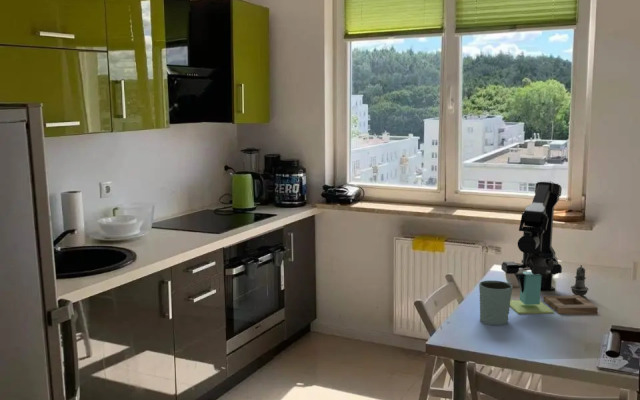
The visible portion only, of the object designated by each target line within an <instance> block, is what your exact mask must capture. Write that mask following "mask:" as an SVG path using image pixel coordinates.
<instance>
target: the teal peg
mask: <svg viewBox="0 0 640 400" xmlns="http://www.w3.org/2000/svg"><path fill="white" fill-rule="evenodd" d="M523 274H525V276H524V291H523V292H521V290H520V289H519V300H520V301H521V302H522V303H524V304H525V305H538V304H540V301H541V291H542V290H541V275H540V274H533V273H532V272H531V271H523Z"/></svg>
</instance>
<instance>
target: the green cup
mask: <svg viewBox="0 0 640 400" xmlns="http://www.w3.org/2000/svg"><path fill="white" fill-rule="evenodd" d="M478 286H479V320H480V322H481V323H483V324H484V325H489V326H493V327H494V326H498V327H499V326H505V325H507V324H508V322H509V313H510V308H511V307H510V301H512V300H511V298H512V292H513V285H512V284H511V283H509V282H505V281H500V280H491V279H490V280H483V281H480V282H479V283H478Z"/></svg>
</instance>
